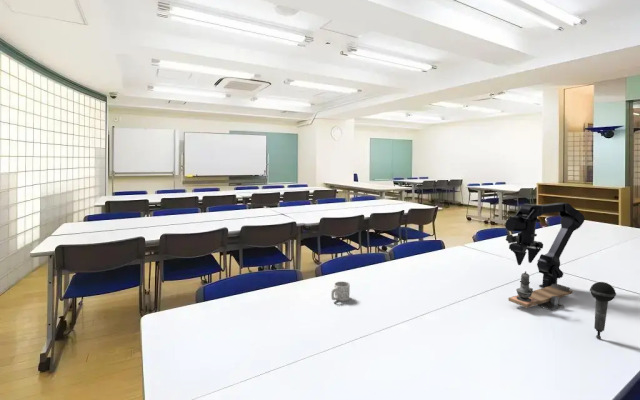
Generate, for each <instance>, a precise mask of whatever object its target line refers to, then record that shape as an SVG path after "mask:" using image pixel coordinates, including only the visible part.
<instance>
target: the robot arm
mask: <svg viewBox="0 0 640 400" xmlns="http://www.w3.org/2000/svg"><path fill="white" fill-rule="evenodd" d="M553 213H558V215H559V217H561V218H560V227H561V228H560V229H559V231H558V232H557V235H556V237H555V239H554V241H553V242H552V244H551V246H550V248H549V249H548V252H547V253H546V254H542V253H541V254H540V255H539V258H538V259H537V262H536V266H537V270H538V272H539V273H540V274H542V283H541V284H539V285H538V286H539V287H540V288H545V287H549V286H552V284H555V283H556V284H558V279H561V278H563V277H564V272H563V271H562V270H561V268H560V266H561V261H560V258H561V255H562V254H563V252H564V250H565V247H566V246H567V244H568V242H569V240H570V238H571V237H572V234H573V233H574V232H575V231H576V230H578V229H579V228H581V227H582V225H583V224H584V222H585V218H586V217H585V216H584V214H583V213H581V212H580V211H579V210H578V209H576V208H575V207H573V206H572V205H571V204H570V203H568V202H563V201H562V202H554V203H545V204H532V203H523V204H522V205H521V207H520V208H519V209H518V210H517V212H516V213H515V214H514V216H512V215H510V216H509V218H508V219H507V220H506V222H505V224H504V226H505V227H504V228H505V229H506V230H507V231H508V232H517V235H513V234H506V237H505V241H506V242H507V244H509V245H508V249H509V250H510V251H511V252H512V253H514V255H515V259H516V262H517V265H518V266H521V265H522V264H523V261H524V259H525V257H526V254H527V260H528V261H527V262H528V263H529V264H531V263H533V261H534V259H535V258H536V257H537V255H538V254H539V253H540V252H541V251H542V249H543V248H544V244H543V242H542V241H536V240H535V237H538V234H537V233H536V227H537V223H541V220H540V219H539V217H542V215H545V214H553Z"/></svg>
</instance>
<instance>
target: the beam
mask: <svg viewBox="0 0 640 400" xmlns="http://www.w3.org/2000/svg"><path fill="white" fill-rule="evenodd" d="M532 292H533V293H532V295H531V296H530V297H529V298H530V299H531V301H530V302H524V301H520V300H518V299H517V297H518V296H519V295H518V294H517V295H514V296H511V297H508V298H507V299H508V300H507V301H508V302H510V303H514V304H516V305H519V306H521V307H524V308H527V309H529V308H532V307H534V306H538V304H541V303H544V302H547V301H551V297H552V296H557V297H558V299H560V298H562V297H565V296H569V295H573V293H574V291H573V290H571V287H569V286H565V285H562V284H558V283H557V284H556V283H555V284H552V286H549V287H545V288H543V287H540V288H539V289H533V291H532Z"/></svg>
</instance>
